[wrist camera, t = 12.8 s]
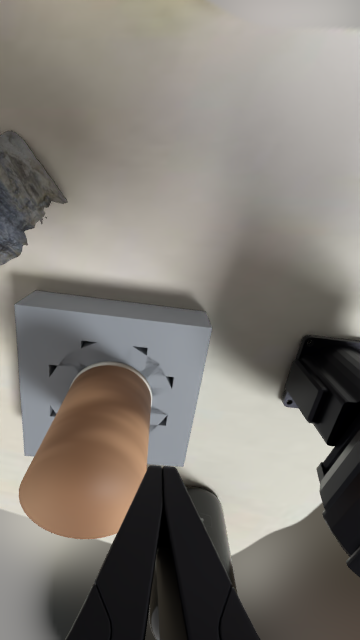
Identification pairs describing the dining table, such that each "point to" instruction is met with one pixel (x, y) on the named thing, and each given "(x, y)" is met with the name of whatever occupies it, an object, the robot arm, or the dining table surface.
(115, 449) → the peg
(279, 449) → the dining table surface
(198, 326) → the board
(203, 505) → the supplement bottle
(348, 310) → the dining table surface
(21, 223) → the driftwood
